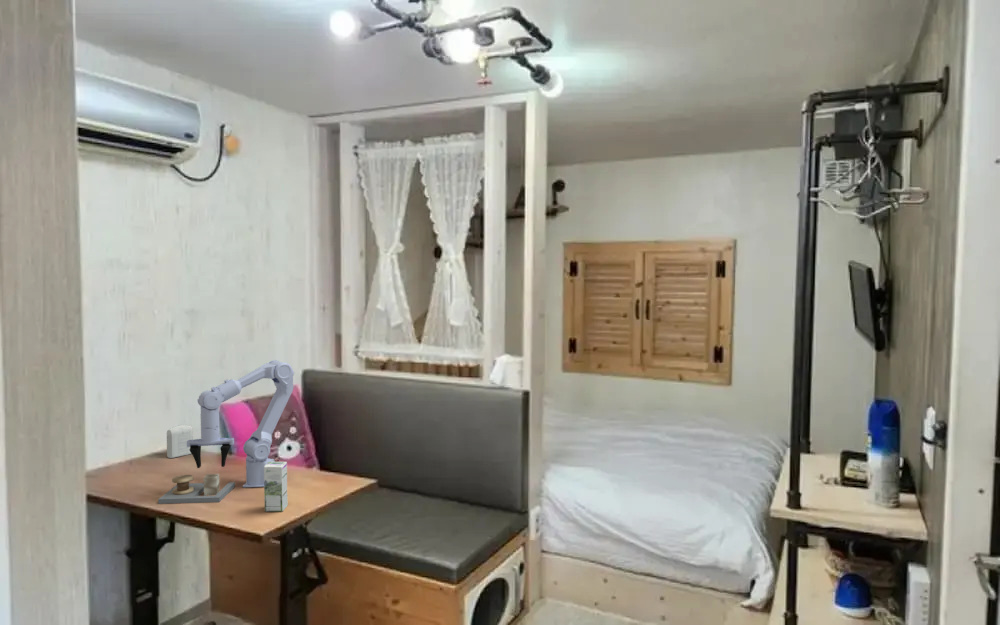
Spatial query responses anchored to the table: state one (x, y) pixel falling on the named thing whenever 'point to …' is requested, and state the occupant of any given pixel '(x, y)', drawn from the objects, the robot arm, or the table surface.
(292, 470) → the table surface
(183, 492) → the spool
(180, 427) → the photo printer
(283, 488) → the syrup box
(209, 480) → the block
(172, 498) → the notched board
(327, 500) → the table surface
